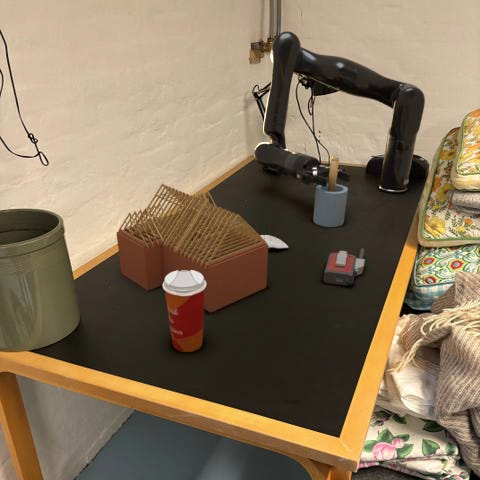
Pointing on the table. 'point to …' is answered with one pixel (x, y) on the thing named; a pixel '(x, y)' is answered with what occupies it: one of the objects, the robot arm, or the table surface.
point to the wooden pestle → (333, 174)
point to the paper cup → (185, 308)
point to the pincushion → (273, 241)
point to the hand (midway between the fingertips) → (338, 180)
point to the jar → (330, 206)
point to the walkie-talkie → (343, 268)
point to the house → (194, 248)
